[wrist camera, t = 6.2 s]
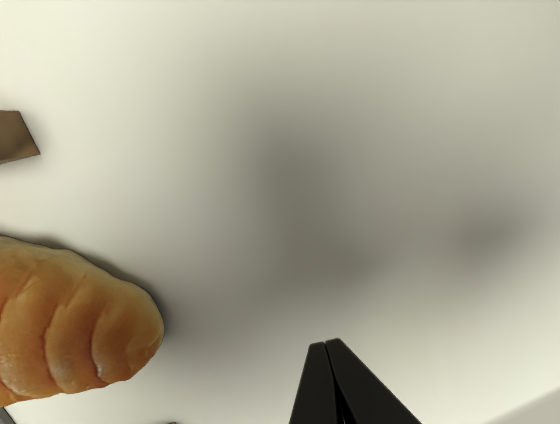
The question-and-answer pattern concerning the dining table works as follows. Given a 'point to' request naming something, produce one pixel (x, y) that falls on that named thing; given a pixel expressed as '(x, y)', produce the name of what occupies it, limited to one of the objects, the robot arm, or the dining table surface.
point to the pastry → (68, 324)
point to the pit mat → (5, 417)
